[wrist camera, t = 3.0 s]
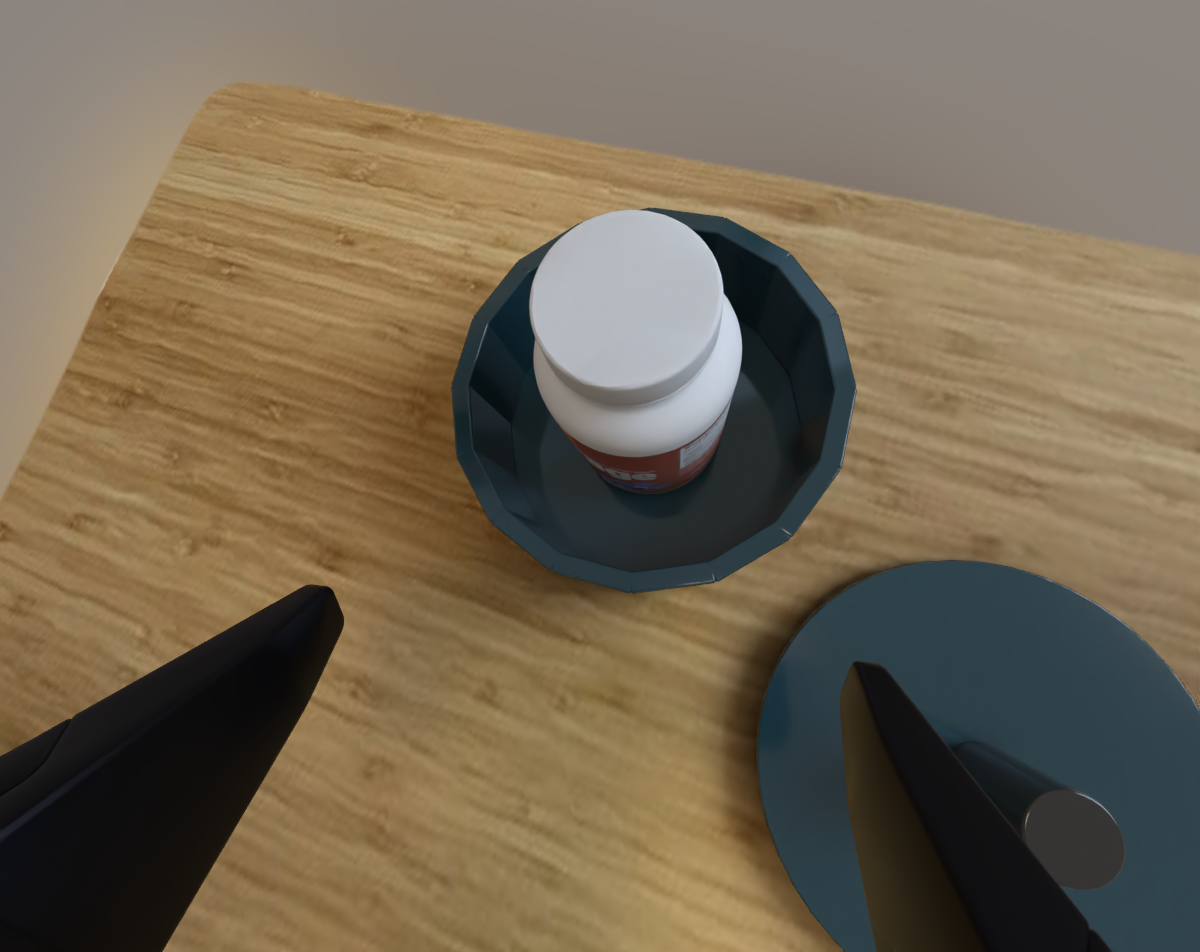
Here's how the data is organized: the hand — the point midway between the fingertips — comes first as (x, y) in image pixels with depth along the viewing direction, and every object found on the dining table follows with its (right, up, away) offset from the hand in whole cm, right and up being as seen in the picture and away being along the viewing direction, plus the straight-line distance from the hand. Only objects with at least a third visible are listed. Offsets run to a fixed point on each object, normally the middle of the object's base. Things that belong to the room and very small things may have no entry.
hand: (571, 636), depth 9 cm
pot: (+3, +5, +14) cm, 15 cm away
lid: (+14, -8, +10) cm, 18 cm away
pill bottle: (+3, +5, +14) cm, 15 cm away
